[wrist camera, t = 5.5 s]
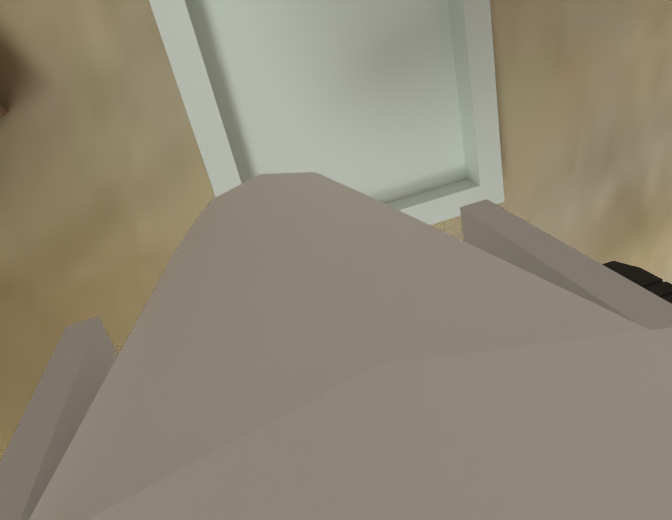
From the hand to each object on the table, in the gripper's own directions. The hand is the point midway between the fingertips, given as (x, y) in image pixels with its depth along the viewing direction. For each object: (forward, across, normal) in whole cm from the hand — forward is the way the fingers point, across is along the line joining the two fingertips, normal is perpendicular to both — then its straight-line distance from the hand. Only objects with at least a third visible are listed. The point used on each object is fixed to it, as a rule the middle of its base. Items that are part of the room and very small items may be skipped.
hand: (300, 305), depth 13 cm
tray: (+20, +6, +2) cm, 21 cm away
